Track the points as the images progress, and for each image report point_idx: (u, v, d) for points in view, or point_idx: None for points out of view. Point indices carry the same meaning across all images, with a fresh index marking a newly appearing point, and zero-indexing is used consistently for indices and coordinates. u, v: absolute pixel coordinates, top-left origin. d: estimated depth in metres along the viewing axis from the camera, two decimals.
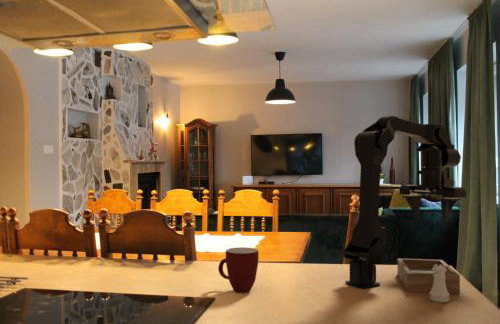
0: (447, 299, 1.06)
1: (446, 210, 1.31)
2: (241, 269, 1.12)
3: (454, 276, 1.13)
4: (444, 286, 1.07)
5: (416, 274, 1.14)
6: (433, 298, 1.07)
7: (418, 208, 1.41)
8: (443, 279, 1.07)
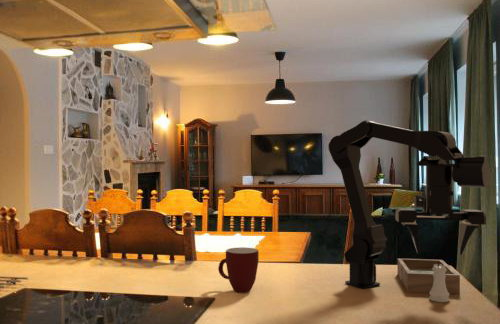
0: (447, 299, 1.06)
1: None
2: (241, 269, 1.12)
3: (454, 276, 1.13)
4: (444, 286, 1.07)
5: (416, 274, 1.14)
6: (433, 298, 1.07)
7: None
8: (443, 279, 1.07)
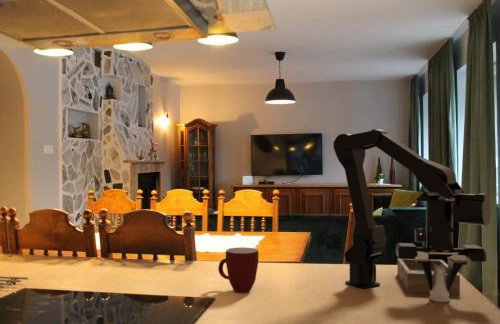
0: (447, 299, 1.06)
1: None
2: (241, 269, 1.12)
3: None
4: (444, 286, 1.07)
5: (416, 274, 1.14)
6: (433, 298, 1.07)
7: None
8: (443, 279, 1.07)
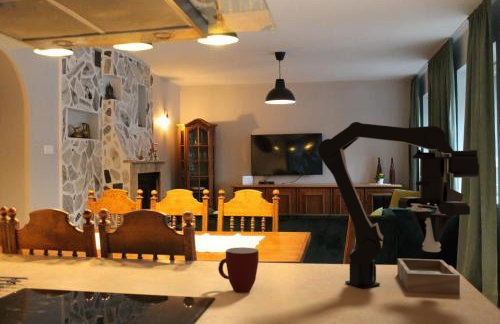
0: (431, 249, 1.14)
1: (436, 227, 1.12)
2: (241, 269, 1.12)
3: (454, 276, 1.13)
4: (431, 237, 1.15)
5: (416, 274, 1.14)
6: (422, 247, 1.17)
7: None
8: (430, 231, 1.15)
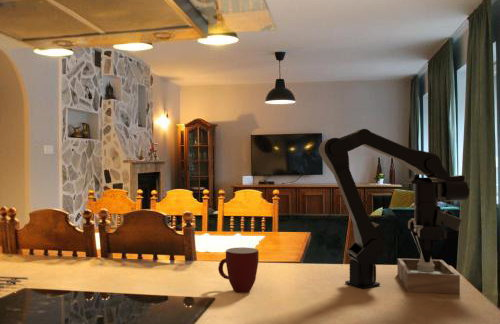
0: (421, 269, 1.21)
1: (422, 248, 1.20)
2: (241, 269, 1.12)
3: (454, 276, 1.13)
4: (423, 258, 1.22)
5: (416, 274, 1.14)
6: None
7: None
8: None
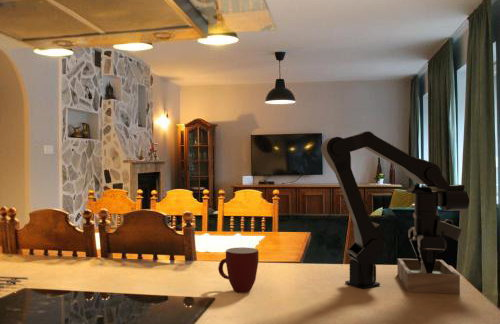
0: None
1: (424, 260, 1.17)
2: (241, 269, 1.12)
3: (454, 276, 1.13)
4: (423, 271, 1.22)
5: (416, 274, 1.14)
6: None
7: None
8: (422, 264, 1.22)
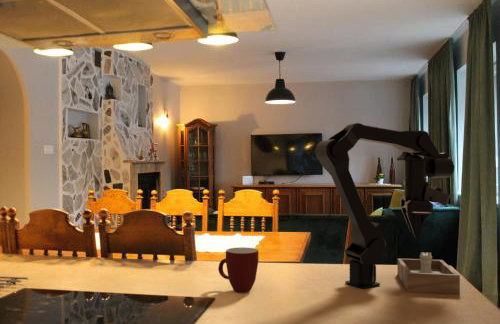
0: None
1: (412, 224, 1.20)
2: (241, 269, 1.12)
3: (454, 276, 1.13)
4: (423, 271, 1.22)
5: (416, 274, 1.14)
6: None
7: None
8: (422, 264, 1.22)
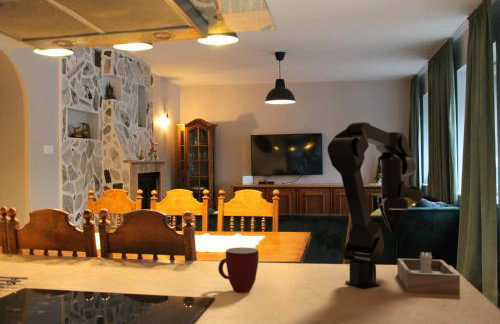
0: None
1: (388, 220, 1.28)
2: (241, 269, 1.12)
3: (454, 276, 1.13)
4: (423, 271, 1.22)
5: (416, 274, 1.14)
6: None
7: None
8: (422, 264, 1.22)
